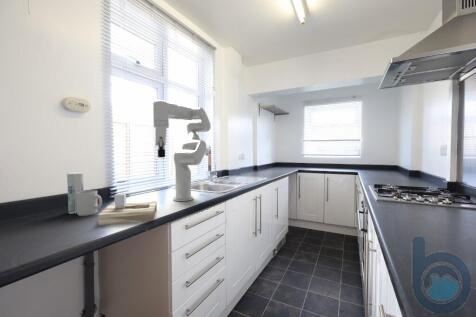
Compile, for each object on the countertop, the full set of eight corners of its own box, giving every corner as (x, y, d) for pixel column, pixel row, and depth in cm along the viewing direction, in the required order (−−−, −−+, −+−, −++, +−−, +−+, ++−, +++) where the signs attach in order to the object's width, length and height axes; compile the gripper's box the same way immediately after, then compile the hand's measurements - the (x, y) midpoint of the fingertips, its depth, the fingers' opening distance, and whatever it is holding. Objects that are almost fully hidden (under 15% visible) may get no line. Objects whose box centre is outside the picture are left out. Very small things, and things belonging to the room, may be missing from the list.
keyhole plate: (110, 213, 109) (109, 204, 108) (156, 209, 115) (156, 201, 115) (98, 225, 92) (98, 214, 91) (153, 220, 98) (153, 210, 98)
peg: (115, 216, 104) (115, 193, 103) (128, 215, 106) (128, 192, 105) (112, 219, 99) (112, 196, 98) (126, 218, 100) (125, 195, 100)
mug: (72, 215, 105) (72, 193, 104) (87, 210, 113) (86, 189, 112) (94, 216, 103) (94, 193, 102) (108, 211, 111) (107, 190, 111)
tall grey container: (66, 212, 109) (64, 173, 109) (81, 209, 115) (79, 172, 114) (71, 214, 106) (70, 174, 105) (86, 211, 111) (85, 172, 110)
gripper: (154, 125, 121) (155, 156, 122) (152, 122, 104) (152, 157, 105) (168, 126, 123) (169, 156, 124) (168, 123, 107) (168, 157, 108)
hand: (161, 156), depth 115 cm, fingers open, 9 cm apart
